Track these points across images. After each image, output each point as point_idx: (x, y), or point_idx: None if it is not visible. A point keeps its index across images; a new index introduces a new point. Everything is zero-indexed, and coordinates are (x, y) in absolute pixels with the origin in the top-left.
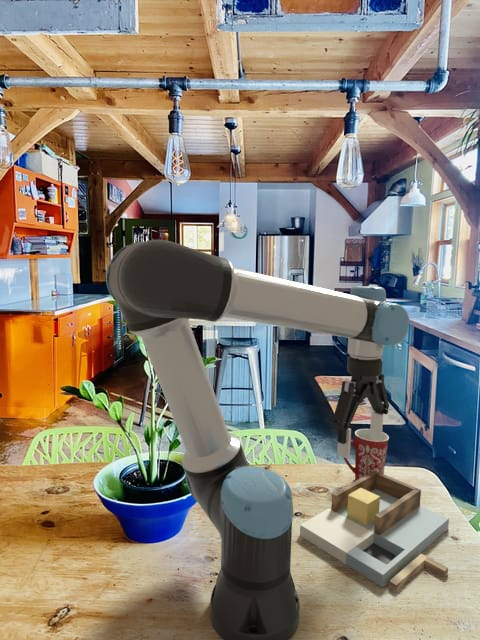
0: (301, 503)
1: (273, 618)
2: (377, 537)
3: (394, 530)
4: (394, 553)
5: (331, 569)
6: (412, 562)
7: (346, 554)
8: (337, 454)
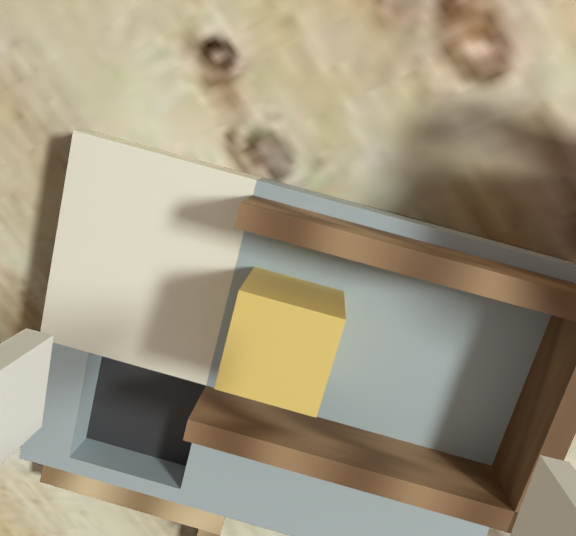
0: (302, 26)
1: None
2: None
3: None
4: None
5: (11, 295)
6: (164, 501)
7: None
8: (25, 331)
